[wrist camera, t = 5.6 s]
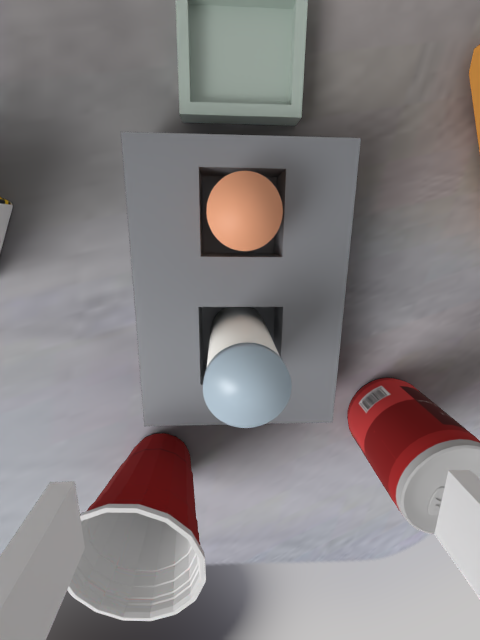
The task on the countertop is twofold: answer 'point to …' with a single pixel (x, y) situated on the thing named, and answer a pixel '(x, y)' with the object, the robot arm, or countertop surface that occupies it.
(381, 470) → the canned food
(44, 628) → the robot arm
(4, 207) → the medicine bottle
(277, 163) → the housing
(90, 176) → the countertop surface
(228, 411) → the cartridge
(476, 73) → the carrot
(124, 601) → the plastic cup
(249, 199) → the plunger
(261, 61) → the tray
